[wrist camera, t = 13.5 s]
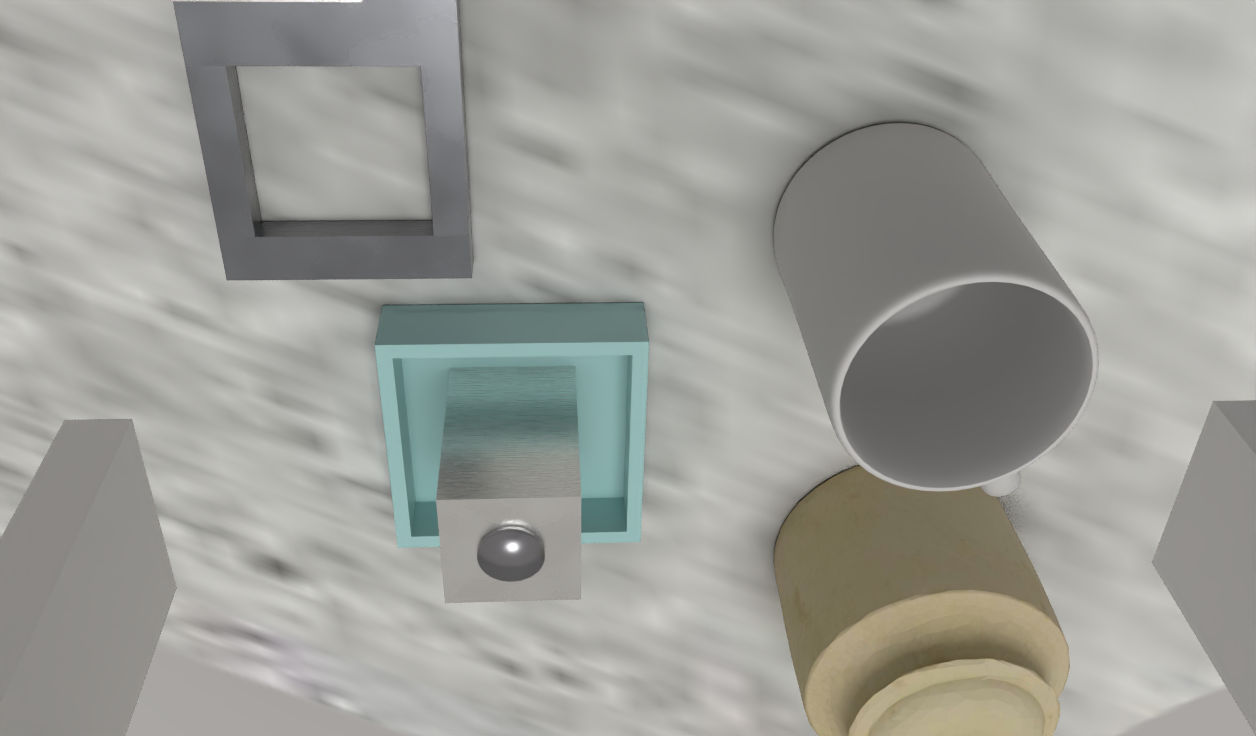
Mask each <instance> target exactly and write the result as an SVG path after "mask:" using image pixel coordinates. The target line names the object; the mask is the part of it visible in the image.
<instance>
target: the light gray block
mask: <svg viewBox="0 0 1256 736" xmlns="http://www.w3.org/2000/svg"><path fill="white" fill-rule="evenodd" d="M170 1H214V2H362V1H363V0H170Z"/></svg>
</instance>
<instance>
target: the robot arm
mask: <svg viewBox="0 0 1256 736" xmlns="http://www.w3.org/2000/svg"><path fill="white" fill-rule="evenodd" d="M1152 564H1153V565H1154V567H1155V569H1156V570H1157V572H1158V574H1159V575H1160V577H1161V579H1162V580H1163V582H1164V584H1165V585H1166V587H1167V589H1168V590H1169V592H1170V594H1171V595H1172V597H1173V599H1174V600H1175V602H1176V604H1177V605H1178V607H1179V609H1180V610H1181V612H1182V614H1183V615H1184V617H1185V619H1186V620H1187V622H1188V624H1189V625H1190V627H1191V629H1192V630H1193V632H1194V634H1195V635H1196V637H1197V639H1198V640H1199V642H1200V644H1201V645H1202V647H1203V649H1204V650H1205V652H1206V654H1207V655H1208V657H1209V659H1210V660H1211V662H1212V664H1213V665H1214V667H1215V669H1216V670H1217V672H1218V673H1219V675H1220V677H1221V678H1222V680H1223V682H1224V683H1225V685H1226V687H1227V688H1228V690H1229V692H1230V693H1231V695H1232V697H1233V698H1234V700H1235V702H1236V703H1237V705H1238V707H1239V708H1240V710H1241V712H1242V713H1243V715H1244V717H1245V718H1246V720H1247V722H1248V723H1249V725H1250V727H1251V728H1252V730H1253V732H1254V733H1255V735H1256V400H1251V401H1213V403H1212V406H1211V408H1210V411H1209V414H1208V416H1207V419H1206V421H1205V424H1204V427H1203V429H1202V432H1201V435H1200V437H1199V440H1198V442H1197V445H1196V448H1195V450H1194V453H1193V456H1192V458H1191V461H1190V463H1189V466H1188V469H1187V471H1186V474H1185V477H1184V479H1183V482H1182V485H1181V487H1180V490H1179V492H1178V495H1177V498H1176V500H1175V503H1174V506H1173V508H1172V511H1171V513H1170V516H1169V519H1168V521H1167V524H1166V527H1165V529H1164V532H1163V535H1162V537H1161V540H1160V542H1159V545H1158V548H1157V550H1156V553H1155V556H1154V558H1153V561H1152ZM176 588H177V587H176V583H175V579H174V576H173V572H172V568H171V564H170V560H169V557H168V553H167V549H166V545H165V542H164V538H163V534H162V530H161V527H160V523H159V519H158V515H157V512H156V508H155V504H154V500H153V497H152V493H151V489H150V485H149V482H148V478H147V474H146V470H145V466H144V463H143V459H142V455H141V451H140V448H139V444H138V440H137V436H136V433H135V429H134V425H133V421H132V419H94V420H64V422H63V424H62V426H61V428H60V429H59V431H58V433H57V435H56V437H55V439H54V441H53V442H52V444H51V446H50V448H49V450H48V452H47V454H46V455H45V457H44V459H43V461H42V463H41V465H40V467H39V468H38V470H37V472H36V474H35V476H34V478H33V480H32V481H31V483H30V485H29V487H28V489H27V491H26V493H25V494H24V496H23V498H22V500H21V502H20V504H19V506H18V507H17V509H16V511H15V513H14V515H13V517H12V519H11V520H10V522H9V524H8V526H7V528H6V530H5V532H4V533H3V535H2V537H1V539H0V736H125V735H126V733H127V730H128V727H129V724H130V721H131V718H132V715H133V712H134V709H135V706H136V704H137V701H138V698H139V695H140V692H141V689H142V686H143V683H144V680H145V678H146V675H147V672H148V669H149V666H150V663H151V660H152V657H153V654H154V652H155V649H156V646H157V643H158V640H159V637H160V634H161V631H162V628H163V625H164V623H165V620H166V617H167V614H168V611H169V608H170V605H171V602H172V599H173V597H174V594H175V591H176Z"/></svg>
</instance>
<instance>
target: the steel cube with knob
mask: <svg viewBox="0 0 1256 736" xmlns="http://www.w3.org/2000/svg"><path fill="white" fill-rule="evenodd" d="M436 505H437V517H438V528H439V539H440V550H441V562H442V573H443V584H444V596H445V603H464V602H500V601H537V600H573V599H581V479H580V457H579V435H578V412H577V390H576V368H575V366H530V367H462V368H450V374H449V383H448V393H447V402H446V411H445V421H444V430H443V439H442V449H441V458H440V468H439V477H438V486H437V496H436Z"/></svg>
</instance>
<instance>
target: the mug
mask: <svg viewBox="0 0 1256 736" xmlns="http://www.w3.org/2000/svg"><path fill="white" fill-rule="evenodd" d="M773 241H774V252H775V257H776V261H777V265H778V269H779V272H780V275H781V278H782V280H783V283H784V285H785V288H786V290H787V293H788V296H789V298H790V301H791V304H792V307H793V310H794V313H795V316H796V319H797V322H798V325H799V328H800V331H801V334H802V337H803V340H804V343H805V346H806V349H807V352H808V355H809V358H810V361H811V364H812V367H813V370H814V373H815V376H816V379H817V382H818V385H819V388H820V391H821V394H822V397H823V400H824V403H825V406H826V409H827V412H828V415H829V418H830V421H831V423H832V425H833V428H834V430H835V433H836V435H837V437H838V439H839V441H840V442H841V444H842V445H843V447H844V449H845V450H846V451H847V453H848V454H849V455H850V456H851V457H852V458H853V459H854V461H855V462H857V463H858V464H859V465H860V466H861V467H863V468H864V469H865V470H866V471H868V472H869V473H871V474H873V475H874V476H876V477H878V478H880V479H882V480H884V481H887V482H889V483H891V484H894V485H898V486H901V487H905V488H909V489H915V490H921V491H956V490H963V489H970V488H974V487H978V486H980V487H981V488H982V489H983V491H984V492H985V493H987V494H988V495H990V496H996V497H1000V496H1004V495H1008V494H1010V493H1011V492H1013V491H1015V490H1016V488H1017V487H1018V486H1019V485H1020V480H1021V476H1020V472H1019V471H1021V470H1022V469H1024V468H1026V467H1028V466H1029V465H1031V464H1033V463H1034V462H1036V461H1037V460H1038V459H1040V458H1041V457H1043V456H1044V455H1046V454H1047V453H1048V452H1049V451H1050V450H1052V449H1053V448H1054V447H1055V446H1056V445H1057V444H1058V443H1059V442H1060V441H1061V440H1062V439H1063V438H1064V437H1065V436H1066V435H1067V434H1068V433H1069V432H1070V431H1071V429H1072V428H1073V427H1074V425H1075V424H1076V423H1077V421H1078V420H1079V419H1080V417H1081V415H1082V414H1083V412H1084V410H1085V409H1086V407H1087V405H1088V403H1089V401H1090V398H1091V396H1092V393H1093V391H1094V387H1095V384H1096V380H1097V375H1098V366H1099V356H1098V344H1097V340H1096V336H1095V332H1094V330H1093V327H1092V325H1091V323H1090V320H1089V318H1088V316H1087V314H1086V313H1085V311H1084V310H1083V308H1082V307H1081V305H1080V304H1079V302H1078V300H1077V299H1076V298H1075V296H1074V295H1073V293H1072V292H1071V290H1070V289H1069V288H1068V286H1067V285H1066V283H1065V282H1064V280H1063V279H1062V278H1061V276H1060V275H1059V273H1058V272H1057V271H1056V269H1055V268H1054V266H1053V265H1052V264H1051V262H1050V261H1049V259H1048V258H1047V256H1046V255H1045V254H1044V252H1043V251H1042V249H1041V248H1040V247H1039V245H1038V244H1037V242H1036V241H1035V240H1034V238H1033V237H1032V235H1031V234H1030V233H1029V231H1028V230H1027V228H1026V227H1025V225H1024V224H1023V223H1022V221H1021V220H1020V218H1019V217H1018V216H1017V214H1016V213H1015V211H1014V210H1013V209H1012V207H1011V206H1010V204H1009V203H1008V201H1007V200H1006V199H1005V197H1004V196H1003V194H1002V193H1001V191H1000V189H999V188H998V186H997V185H996V183H995V181H994V180H993V178H992V177H991V175H990V174H989V172H988V171H987V169H986V168H985V166H984V165H983V163H982V162H981V161H980V160H979V159H978V158H977V156H976V155H975V154H974V153H973V152H972V151H971V150H970V149H969V148H968V147H967V146H965V145H964V144H963V143H961V142H960V141H959V140H957V139H955V138H954V137H952V136H950V135H948V134H946V133H944V132H942V131H939V130H937V129H934V128H932V127H927V126H923V125H918V124H909V123H887V124H881V125H875V126H870V127H867V128H863V129H860V130H857V131H854V132H852V133H849V134H847V135H844V136H843V137H841V138H839V139H837V140H835V141H833V142H832V143H830V144H828V145H827V146H826V147H824V148H823V149H821V150H820V151H818V152H817V153H816V154H815V155H814V156H813V157H812V158H811V159H809V160H808V161H807V162H806V163H805V164H804V165H803V167H802V168H801V169H800V170H799V171H798V172H797V173H796V175H795V176H794V178H793V179H792V181H791V182H790V184H789V185H788V187H787V189H786V191H785V193H784V195H783V197H782V199H781V202H780V204H779V207H778V210H777V215H776V219H775V224H774V237H773Z"/></svg>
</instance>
